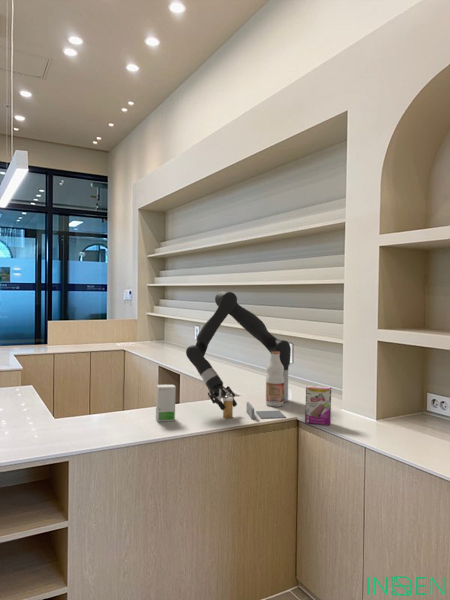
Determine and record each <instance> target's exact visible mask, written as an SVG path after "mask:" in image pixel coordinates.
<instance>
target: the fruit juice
mask: <svg viewBox="0 0 450 600" xmlns="http://www.w3.org/2000/svg"><path fill="white" fill-rule="evenodd" d="M270 355H271V356H270V360H269V362H268V363H267V365H266V368H265V369H266V379H265V405H266V406H268V407H272V408H273V407H274V408H275V407H277V408H279V407H283V406H284V403H285V402H284V376H283V372H284V366H283V365H282V363H281V361H280V357H279V355H280V352H279V351H271V353H270Z"/></svg>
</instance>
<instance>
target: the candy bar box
mask: <svg viewBox="0 0 450 600" xmlns="http://www.w3.org/2000/svg"><path fill="white" fill-rule="evenodd" d="M304 415H305V417H304V423H305V424H308V425H309V424H310V425H318V426H319V425H320V426H331V422H332V421H331V420H332V419H331V418H332V417H331V416H332V387H331V386H318V385H317V386H316V385H306V388H305V413H304Z"/></svg>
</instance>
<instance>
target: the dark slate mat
mask: <svg viewBox="0 0 450 600" xmlns="http://www.w3.org/2000/svg"><path fill="white" fill-rule="evenodd" d="M255 413H256V414H257V415H258V417H259V418H260V419H262V420H263V419H286V418H287V417H286V415H285V414H284V413H282V412H281V411H280V410H255Z"/></svg>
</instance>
